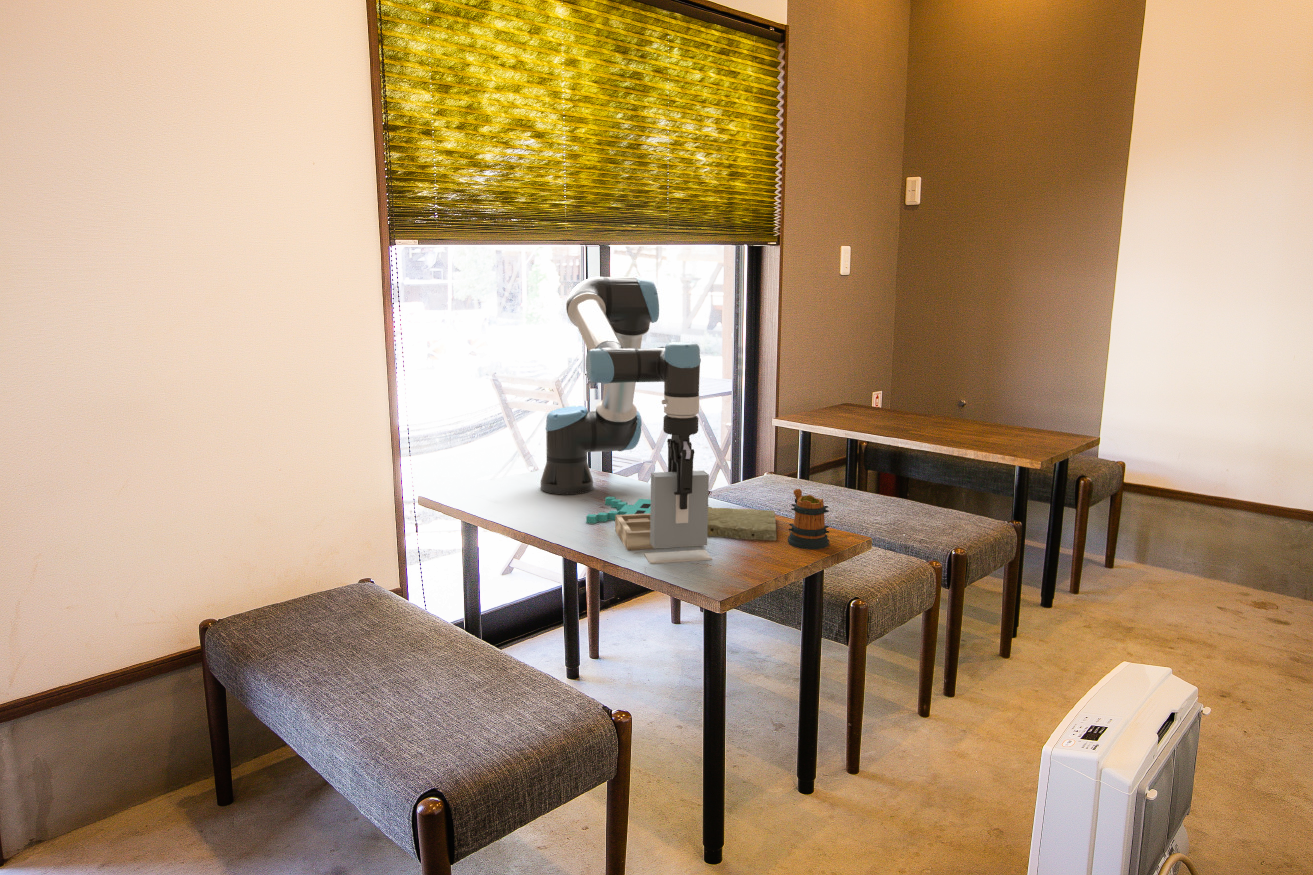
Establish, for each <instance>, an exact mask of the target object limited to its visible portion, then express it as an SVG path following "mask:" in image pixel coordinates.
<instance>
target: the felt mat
mask: <svg viewBox="0 0 1313 875" xmlns="http://www.w3.org/2000/svg"><path fill="white" fill-rule="evenodd" d="M643 555H644V557H645V558H646V559H647V561H648V562H649V564H650V565H652V564H653V565H654V564H667V563H682V562H697V561H698V562H699V561H701V562H702V561H712V560H713V557H712V556H711V555H710V554H709V553H708V551H706V550H705V549H690V550H677V551H676V550H675V551H674V550H673V551H661V552H659V551H657V552H645V553H643Z"/></svg>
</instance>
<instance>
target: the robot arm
mask: <svg viewBox="0 0 1313 875" xmlns="http://www.w3.org/2000/svg"><path fill="white" fill-rule="evenodd" d="M658 294H659V293H658V291H657V288H656V284H655V282H654V281H653V280H652V279H651V278H649V277H638V276H635V277H634V276H633V277H630V276H626V277H625V276H624V277H623V276H621V277H620V276H594V277H589V278H587V279H584V280H582V281H581V282H579V283H578V284H577V285H575V287H574V288H573V289H572V290H571V292H570V293H569V295H568V297H567V300H566V308H565V310H566V313H567V316H568V319H569V322H570V323H572V325H573V326H574V327H576V328H578V329H577V330H578V331H579V333H580V335H581V338H582V339H583V341H584V344H585V346H586V349H587V352H586V357H585V372H586V377H587V379H588V381H589V382H591V383H595V384H596V383H597V384H603V386H604V387H603V393H602V399H601V400H600V401H599V402H598V403H597V404H596V406H595V407H596V409H595V411H593V410H592V411H589V410H588V408H587V406H583V405H578V406H576V405H574V406H573V405H571V406H566V407H565V406H564V407H560V408H556V409H554V410H551V411H550V412H548V413H547V416H546V422H545V433H546V434H545V435H546V443H545V444H546V446H545V447H546V450H545V451H546V453H545V454H546V463H545V467H544V469H543V472H542V476H541V479H540V490H541V491H542V492H545V493H547V494H548V493H549V494H553V495H578V494H585V493H588V492H591V491H593V489H594V480H593V476H592V472H591V470H590V466H589V463H588V453H592V452H593V453H597V452H623V451H631V450H633V449H635V448H636V446H638V444H639V442H640V438H641V435H642V417H641V413H640V412H639V411H638V410H637V407H636V406H635V404H634V396H635V392H636V390H635V389H636V383H659V382H660V383H663V384H664V387H663V389H664V390H663V392H664V393H663V395H664V399H661V404H662V405H663V412H664V414H666V415H664V416H663V426H662V427H663V428H662V429H663V432H664V433H665V434H667V435H670V436H671V438H667V440H666V442H667V472H677V492H674V494H675V495H676V513H675V523H688V509H689V494H690V493H692V479H693V471H694V470H693V468H694V459H695V458H694V456H695V450H694V448H692V447H693V446H692V442H691V441H690V436H692V435H696V434H697V433H698V432H699V417H698V414H699V413H700V377H701V376H700V375H701V374H700V372H701V371H700V370H701V362H702V361H701V353H700V352H701V350H700V349H701V348H700V345H698V343H695V342H686V341H685V342H683V341H682V342H681V341H680V342H679V341H675V342H674V341H672V342H668V343H667V344H666V345H665V346H659V347H653V348H652V347H651V348H649V347H645V348H644V347H643V348H641V347H642V340H643V336H644V335H646V334H647V333H648V332H649V330H650V325H651V323H652V324H654V323H657V322H658V320H659V318H660V301H659V300H660V299H659V296H658Z"/></svg>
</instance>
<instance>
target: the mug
mask: <svg viewBox="0 0 1313 875" xmlns="http://www.w3.org/2000/svg"><path fill="white" fill-rule="evenodd" d="M802 492H803V491H802V489H801V488H795V489H794V490H793V495H794V496H795V498H794V503H791V504H790V505H791V506H792V508H791V511H794V517H793V518H794V519H793V523H788V525H789V526H791V528H789V529H788V531H789V532H790V533H789V536H788V537H787V543H788V544H789V546H792V547H793V548H798V549H801V550H812V551H813V550H815V551H816V550H822V549H825V548H827V547H829V545H830V539H828V537H829V536H828V534H830V530H827V529H828V528H829V527H830V526H829V525H826V521H825V520H826V519H825V513H829V512H830V510H828V509H827V508H829V506H828V505H824V504H825V502H824V499H823V498H818V497H817V498H816V497H815V496H814V495H811V494H807V495H802V494H803V493H802Z"/></svg>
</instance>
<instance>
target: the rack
mask: <svg viewBox="0 0 1313 875" xmlns="http://www.w3.org/2000/svg"><path fill="white" fill-rule="evenodd" d="M643 518H648V519H649V520H640V521H627V519H643ZM614 521H615V522H614V524H615V525H614V526H615V527H614V529H615V533H616V534H617V536H618V538H619V539H620V541H621V542H622V543H623V545H624V547H625V549H626V550H627V551H634V550H651V549H652V550H653V549H654V550H655V549H656V548H653V546H652V545H651V544H650V513H645V514H626V515H615V520H614ZM703 546H705V545H703ZM703 546H702V547H703ZM687 547H690V546H687ZM670 548H673V547H670Z"/></svg>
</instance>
